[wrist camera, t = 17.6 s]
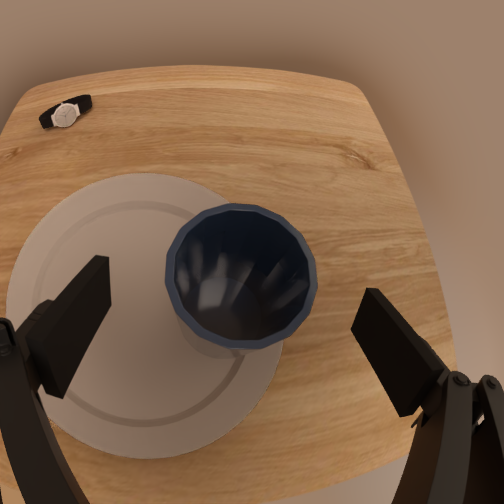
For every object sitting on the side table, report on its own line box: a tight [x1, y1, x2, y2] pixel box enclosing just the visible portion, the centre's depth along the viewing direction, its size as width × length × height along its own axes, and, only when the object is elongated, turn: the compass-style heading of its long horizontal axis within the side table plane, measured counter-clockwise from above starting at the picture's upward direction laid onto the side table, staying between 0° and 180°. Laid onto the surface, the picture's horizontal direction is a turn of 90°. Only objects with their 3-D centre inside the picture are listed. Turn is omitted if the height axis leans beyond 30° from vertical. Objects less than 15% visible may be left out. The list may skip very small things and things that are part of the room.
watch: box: [39, 95, 92, 129], centre depth 29 cm, size 8×5×4 cm, turn 120°
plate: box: [6, 173, 284, 459], centre depth 23 cm, size 26×26×2 cm
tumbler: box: [164, 203, 318, 359], centre depth 18 cm, size 7×7×11 cm
